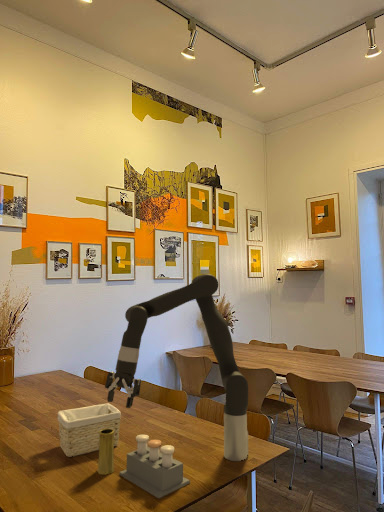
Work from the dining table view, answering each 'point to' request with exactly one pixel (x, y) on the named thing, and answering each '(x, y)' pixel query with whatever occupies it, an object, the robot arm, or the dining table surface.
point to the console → (154, 474)
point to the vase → (106, 452)
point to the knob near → (167, 456)
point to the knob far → (142, 444)
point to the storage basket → (86, 427)
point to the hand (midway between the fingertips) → (118, 404)
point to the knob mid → (154, 450)
